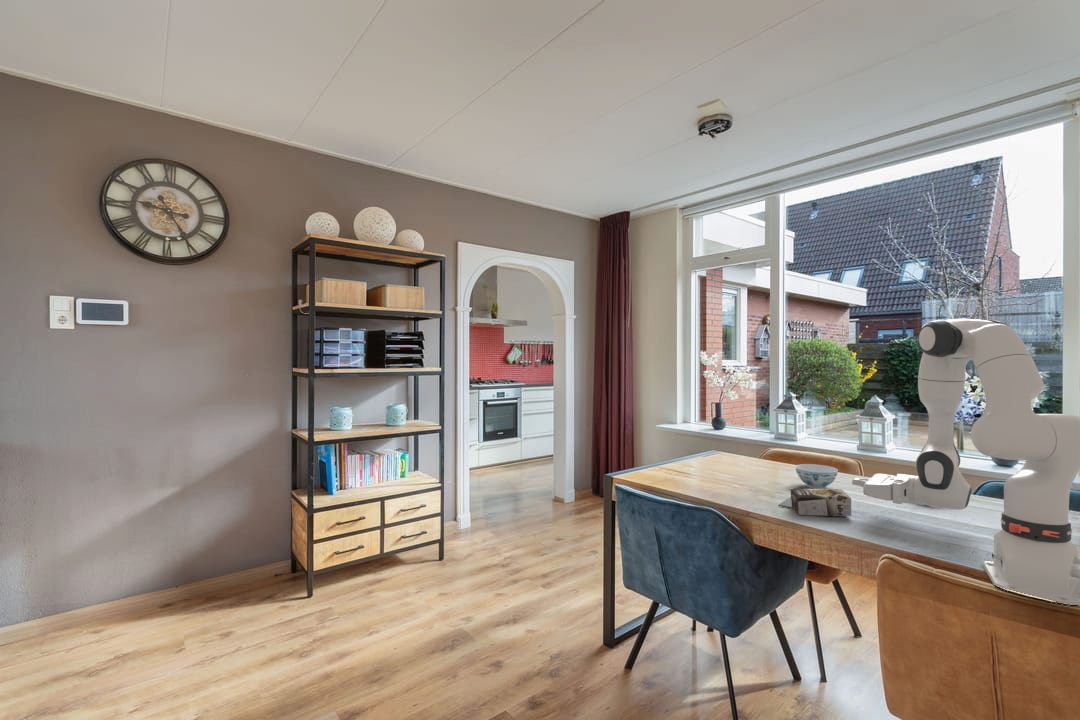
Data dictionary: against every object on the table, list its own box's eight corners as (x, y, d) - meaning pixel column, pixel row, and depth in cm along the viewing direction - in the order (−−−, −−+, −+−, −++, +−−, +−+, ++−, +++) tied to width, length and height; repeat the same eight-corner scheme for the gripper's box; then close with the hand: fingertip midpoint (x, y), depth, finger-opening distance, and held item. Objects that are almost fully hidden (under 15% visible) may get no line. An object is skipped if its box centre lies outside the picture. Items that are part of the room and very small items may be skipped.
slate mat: (832, 516, 168) (832, 514, 168) (778, 506, 179) (778, 504, 179) (843, 507, 178) (843, 505, 178) (791, 498, 189) (791, 496, 189)
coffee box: (851, 497, 165) (797, 497, 168) (852, 516, 165) (798, 516, 168) (841, 487, 173) (790, 487, 177) (841, 506, 174) (790, 505, 177)
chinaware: (825, 482, 212) (824, 464, 212) (845, 492, 197) (845, 472, 197) (788, 482, 212) (788, 464, 212) (806, 492, 197) (806, 472, 197)
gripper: (908, 472, 168) (860, 466, 177) (898, 484, 153) (845, 477, 162) (908, 491, 168) (860, 484, 177) (898, 505, 153) (845, 496, 162)
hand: (853, 481), depth 170 cm, fingers closed
